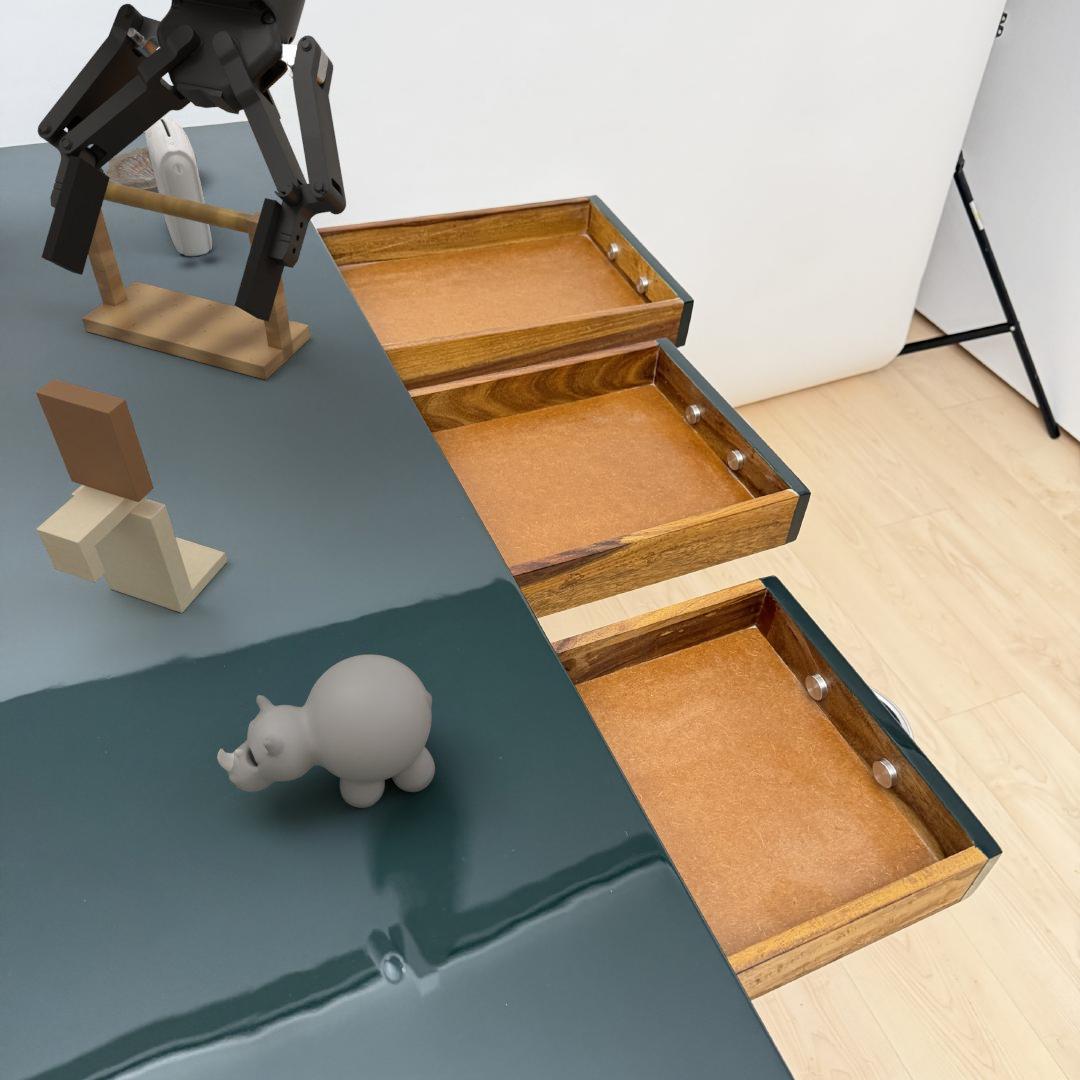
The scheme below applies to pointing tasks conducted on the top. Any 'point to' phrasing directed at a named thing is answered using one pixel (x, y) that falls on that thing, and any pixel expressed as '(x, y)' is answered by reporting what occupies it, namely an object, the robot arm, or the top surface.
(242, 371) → the stand
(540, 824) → the top surface
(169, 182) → the white rounded oblong piece
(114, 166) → the fossil
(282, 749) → the round bodied animal figurine
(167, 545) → the beige and brown blocks
